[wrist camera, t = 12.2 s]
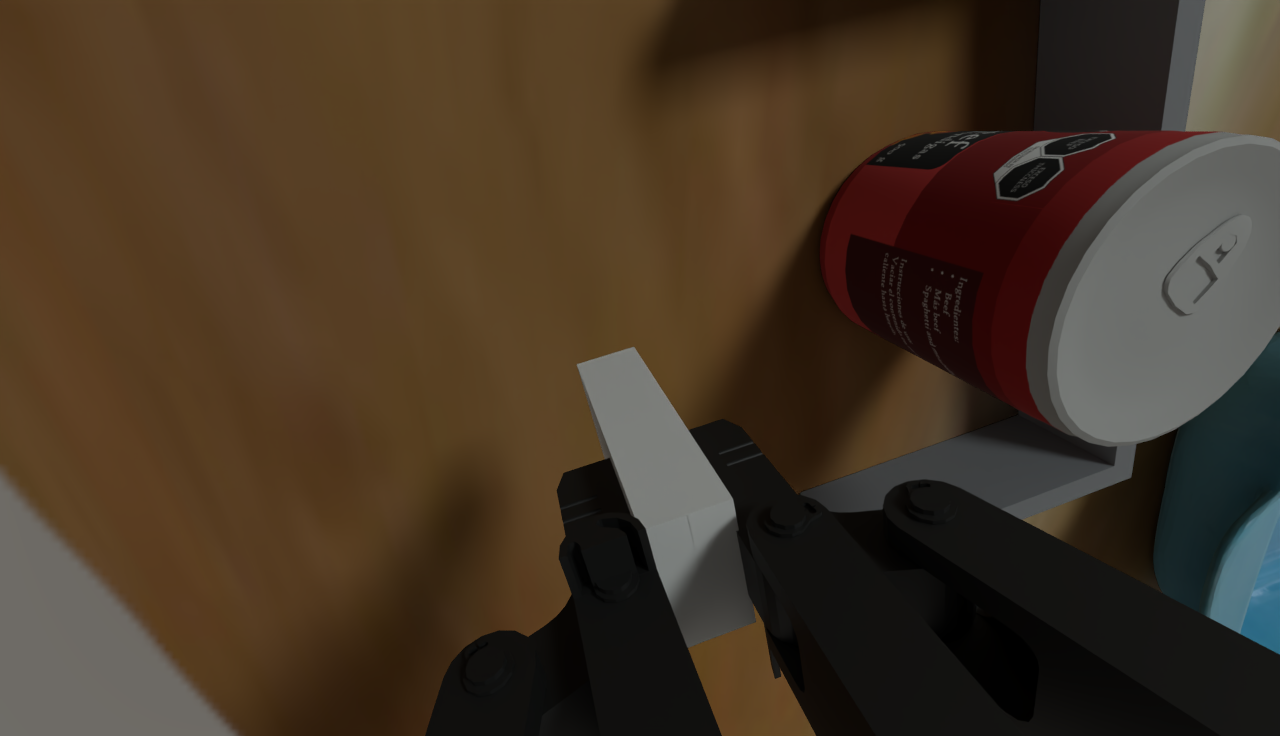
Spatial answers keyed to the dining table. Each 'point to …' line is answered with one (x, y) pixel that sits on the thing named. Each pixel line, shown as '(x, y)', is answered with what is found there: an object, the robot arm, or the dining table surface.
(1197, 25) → the box
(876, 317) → the canned food
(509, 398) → the dining table surface
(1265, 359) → the casserole dish
